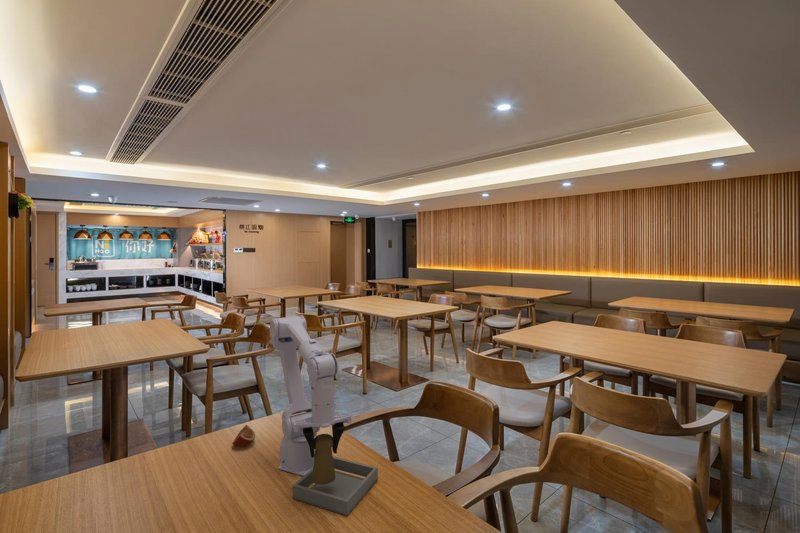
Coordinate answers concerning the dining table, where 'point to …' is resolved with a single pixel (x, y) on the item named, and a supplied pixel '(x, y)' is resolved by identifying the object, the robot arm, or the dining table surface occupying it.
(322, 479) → the cork
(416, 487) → the dining table surface
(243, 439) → the fruit slice
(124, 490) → the dining table surface
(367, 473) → the walled box
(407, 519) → the dining table surface
